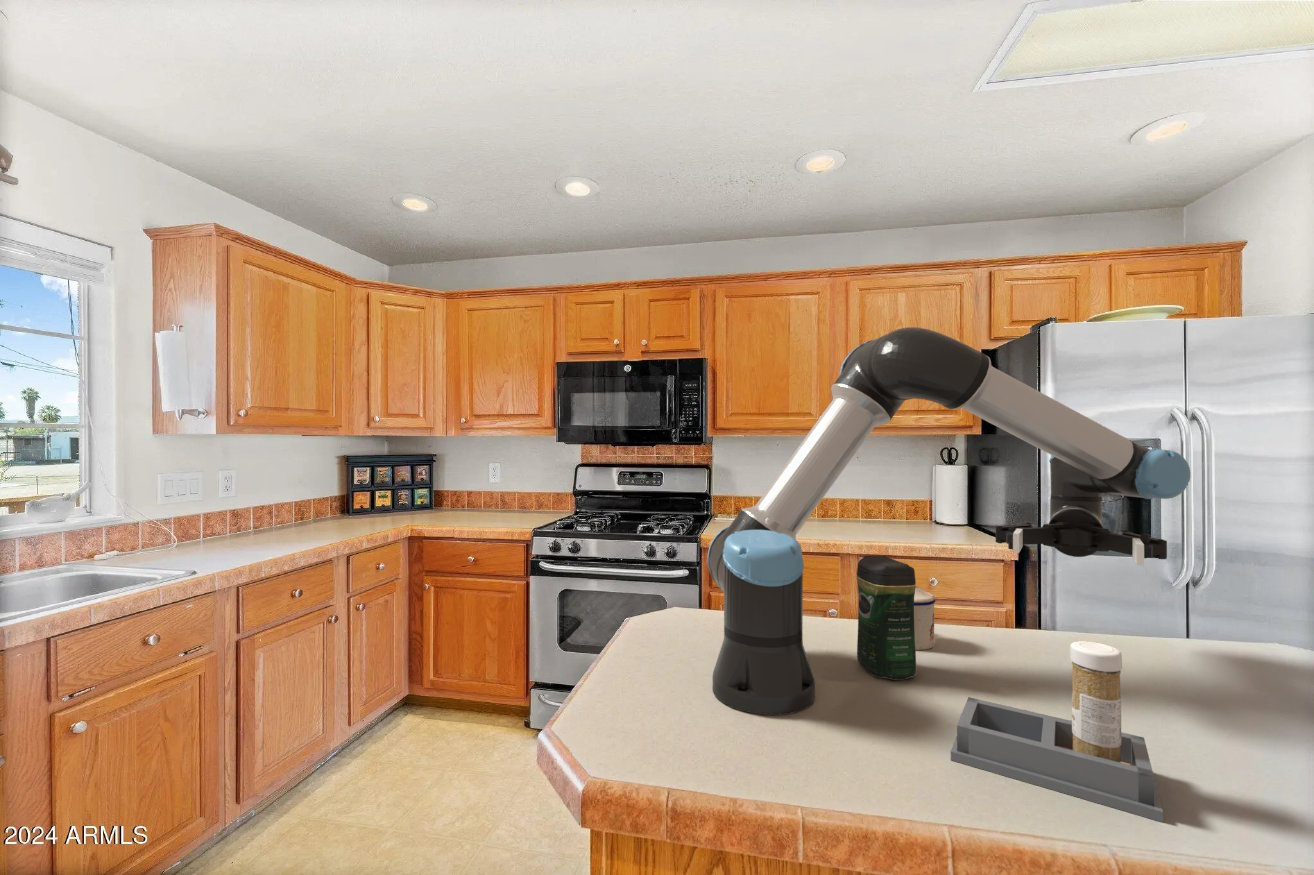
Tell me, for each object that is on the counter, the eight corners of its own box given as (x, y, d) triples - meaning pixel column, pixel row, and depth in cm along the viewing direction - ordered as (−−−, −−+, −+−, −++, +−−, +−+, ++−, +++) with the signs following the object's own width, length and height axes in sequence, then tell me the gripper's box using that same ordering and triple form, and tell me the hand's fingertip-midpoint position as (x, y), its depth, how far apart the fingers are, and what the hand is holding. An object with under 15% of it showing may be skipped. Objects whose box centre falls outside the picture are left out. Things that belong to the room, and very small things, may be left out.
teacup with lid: (943, 652, 102) (943, 587, 102) (891, 650, 103) (891, 585, 103) (919, 630, 114) (919, 572, 114) (872, 629, 115) (872, 571, 115)
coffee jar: (925, 681, 89) (924, 563, 90) (876, 683, 89) (876, 564, 89) (894, 658, 99) (893, 551, 99) (850, 659, 98) (849, 552, 99)
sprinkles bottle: (1076, 752, 66) (1075, 636, 67) (1126, 768, 63) (1125, 646, 63) (1067, 767, 63) (1066, 646, 63) (1119, 785, 60) (1118, 657, 60)
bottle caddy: (950, 759, 67) (950, 725, 67) (964, 724, 76) (964, 694, 76) (1163, 822, 56) (1162, 781, 56) (1150, 772, 64) (1150, 736, 65)
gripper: (1176, 563, 87) (1200, 591, 70) (988, 545, 102) (971, 563, 85) (1176, 514, 87) (1200, 530, 70) (989, 503, 102) (971, 513, 85)
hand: (1074, 548), depth 77 cm, fingers open, 13 cm apart
